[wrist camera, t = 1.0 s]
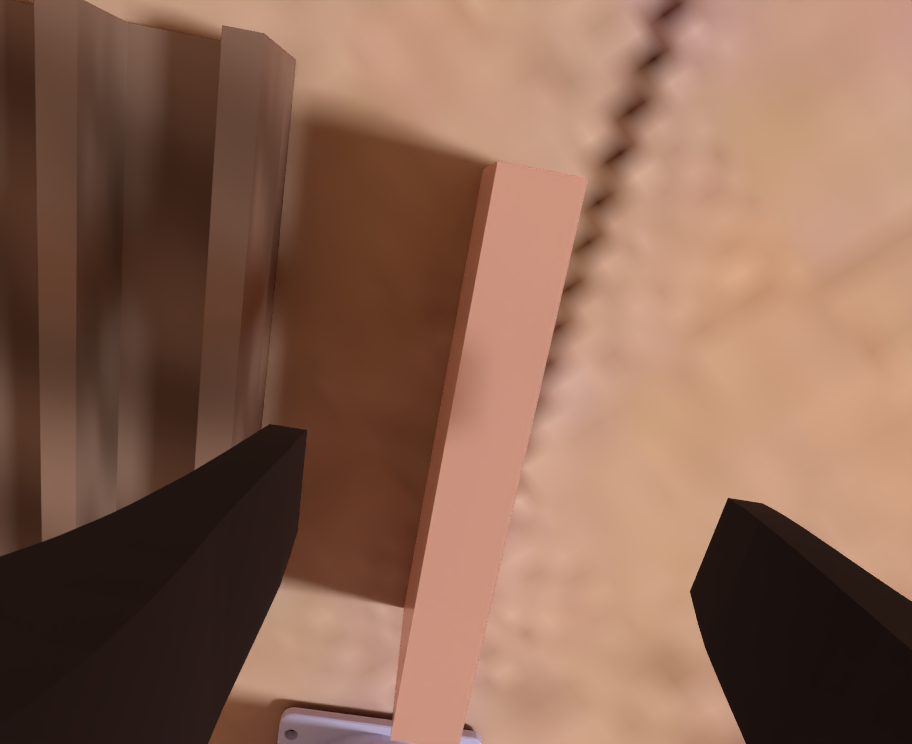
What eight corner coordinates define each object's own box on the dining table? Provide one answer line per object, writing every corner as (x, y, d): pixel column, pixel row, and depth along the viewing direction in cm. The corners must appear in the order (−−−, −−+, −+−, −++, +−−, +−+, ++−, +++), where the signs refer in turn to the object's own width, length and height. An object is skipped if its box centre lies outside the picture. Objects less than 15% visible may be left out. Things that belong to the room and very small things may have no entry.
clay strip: (456, 612, 24) (458, 749, 18) (404, 605, 24) (389, 740, 18) (546, 180, 19) (587, 178, 13) (482, 168, 19) (497, 161, 13)
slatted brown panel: (242, 631, 24) (211, 697, 21) (-148, 576, 23) (-241, 637, 20) (295, 59, 18) (264, 33, 15) (-219, -41, 17) (-364, -90, 14)
